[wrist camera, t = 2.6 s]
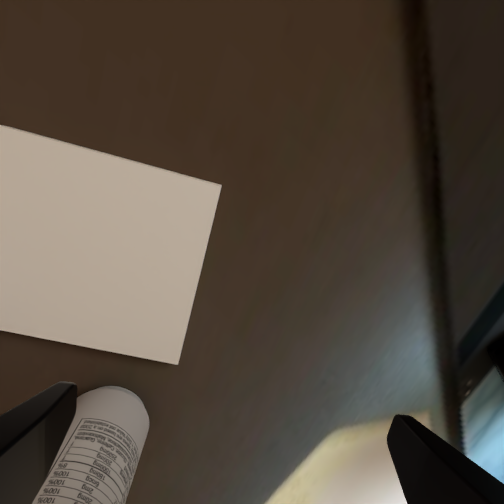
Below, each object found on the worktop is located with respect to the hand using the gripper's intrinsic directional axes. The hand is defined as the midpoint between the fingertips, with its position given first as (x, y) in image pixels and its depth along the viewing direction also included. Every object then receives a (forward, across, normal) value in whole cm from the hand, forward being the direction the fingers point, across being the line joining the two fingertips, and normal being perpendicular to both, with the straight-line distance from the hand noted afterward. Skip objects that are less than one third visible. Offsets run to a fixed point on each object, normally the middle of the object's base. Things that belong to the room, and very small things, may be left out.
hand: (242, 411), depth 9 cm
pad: (+13, +9, +1) cm, 16 cm away
